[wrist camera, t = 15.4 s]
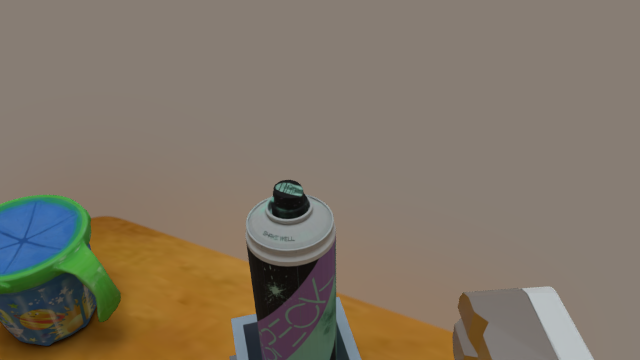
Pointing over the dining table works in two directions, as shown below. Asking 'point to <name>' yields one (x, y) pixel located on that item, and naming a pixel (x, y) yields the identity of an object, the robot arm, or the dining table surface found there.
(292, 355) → the spray can
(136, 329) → the dining table surface
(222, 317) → the dining table surface
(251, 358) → the collar stand
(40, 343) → the snack cup
